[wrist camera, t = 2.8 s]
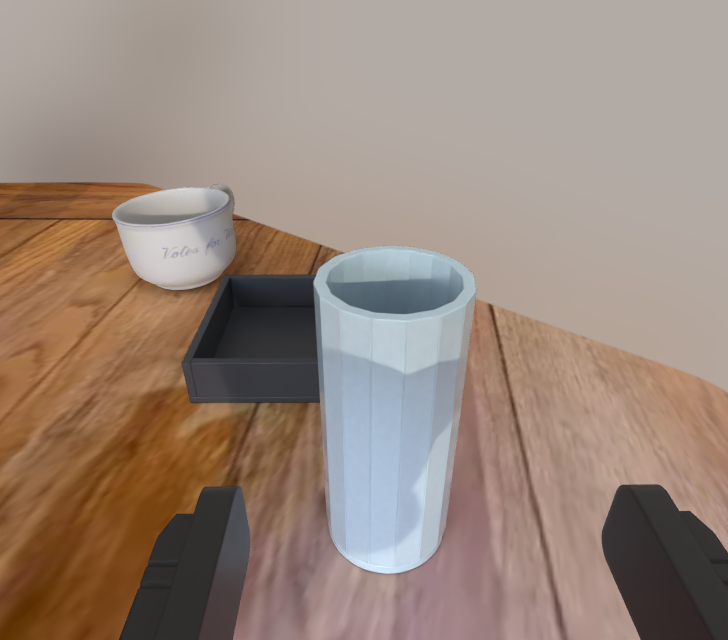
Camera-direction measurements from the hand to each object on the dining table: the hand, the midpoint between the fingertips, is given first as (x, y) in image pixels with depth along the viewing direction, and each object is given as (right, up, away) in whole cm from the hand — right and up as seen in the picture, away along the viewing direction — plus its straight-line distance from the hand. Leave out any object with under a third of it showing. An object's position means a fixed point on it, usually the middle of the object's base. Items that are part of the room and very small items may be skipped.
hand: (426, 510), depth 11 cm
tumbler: (0, -7, +18) cm, 19 cm away
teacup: (-19, +9, +44) cm, 48 cm away
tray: (-7, +2, +31) cm, 32 cm away
